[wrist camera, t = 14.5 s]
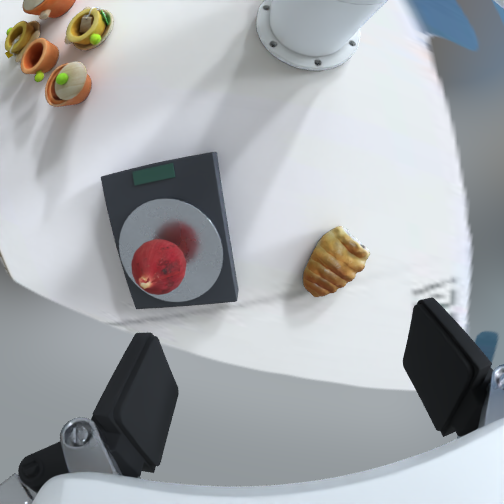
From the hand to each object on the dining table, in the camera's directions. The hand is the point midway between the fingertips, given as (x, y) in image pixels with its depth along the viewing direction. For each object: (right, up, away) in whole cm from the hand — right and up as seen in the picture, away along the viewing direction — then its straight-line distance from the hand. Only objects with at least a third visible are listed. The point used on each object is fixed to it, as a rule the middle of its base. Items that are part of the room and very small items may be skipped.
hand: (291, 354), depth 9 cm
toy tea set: (-28, +34, +16) cm, 47 cm away
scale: (-11, +6, +26) cm, 29 cm away
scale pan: (-11, +4, +24) cm, 26 cm away
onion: (-11, +3, +23) cm, 26 cm away
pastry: (+9, +3, +27) cm, 29 cm away
